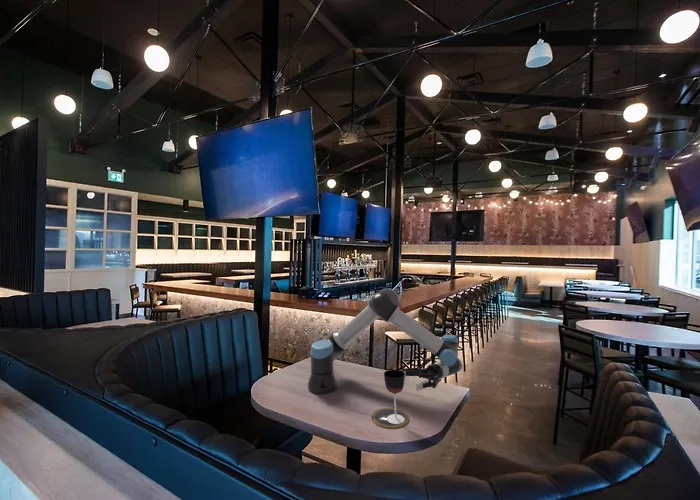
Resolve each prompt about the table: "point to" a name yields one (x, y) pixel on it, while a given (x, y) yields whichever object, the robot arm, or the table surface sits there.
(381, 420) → the coaster
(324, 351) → the robot arm
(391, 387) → the wineglass
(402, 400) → the table surface
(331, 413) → the table surface
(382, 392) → the table surface
